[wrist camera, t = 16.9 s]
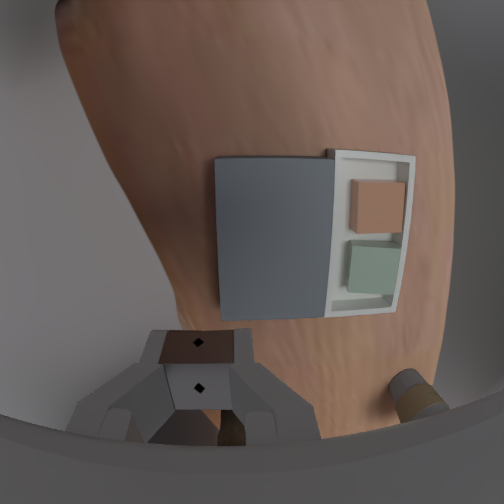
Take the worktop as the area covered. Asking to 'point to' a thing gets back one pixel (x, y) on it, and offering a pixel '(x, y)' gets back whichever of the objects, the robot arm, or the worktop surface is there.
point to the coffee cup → (415, 397)
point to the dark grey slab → (273, 235)
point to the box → (364, 167)
